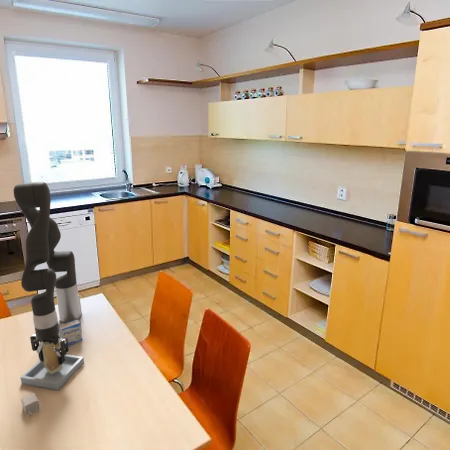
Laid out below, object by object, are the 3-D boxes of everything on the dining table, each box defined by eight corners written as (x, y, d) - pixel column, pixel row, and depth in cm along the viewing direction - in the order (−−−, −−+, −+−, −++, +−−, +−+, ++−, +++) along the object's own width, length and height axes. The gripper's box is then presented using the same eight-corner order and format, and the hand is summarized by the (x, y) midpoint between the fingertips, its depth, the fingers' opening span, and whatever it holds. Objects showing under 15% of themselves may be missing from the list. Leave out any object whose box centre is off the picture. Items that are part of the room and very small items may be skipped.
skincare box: (44, 367, 131) (39, 338, 127) (56, 361, 134) (51, 333, 130) (51, 375, 127) (46, 346, 123) (63, 369, 130) (59, 340, 126)
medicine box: (63, 348, 145) (61, 329, 143) (60, 343, 148) (57, 325, 146) (83, 340, 150) (80, 322, 148) (79, 336, 153) (76, 318, 151)
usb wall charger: (36, 402, 117) (34, 392, 116) (42, 414, 112) (40, 404, 111) (23, 408, 115) (21, 398, 113) (28, 421, 110) (26, 411, 108)
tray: (50, 357, 139) (49, 351, 138) (84, 363, 136) (83, 357, 135) (21, 383, 125) (20, 377, 124) (58, 390, 122) (57, 384, 121)
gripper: (70, 319, 127) (75, 358, 131) (36, 314, 130) (42, 352, 134) (56, 330, 120) (62, 371, 124) (20, 325, 123) (28, 365, 127)
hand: (52, 361), depth 129 cm, fingers closed on skincare box, 7 cm apart
